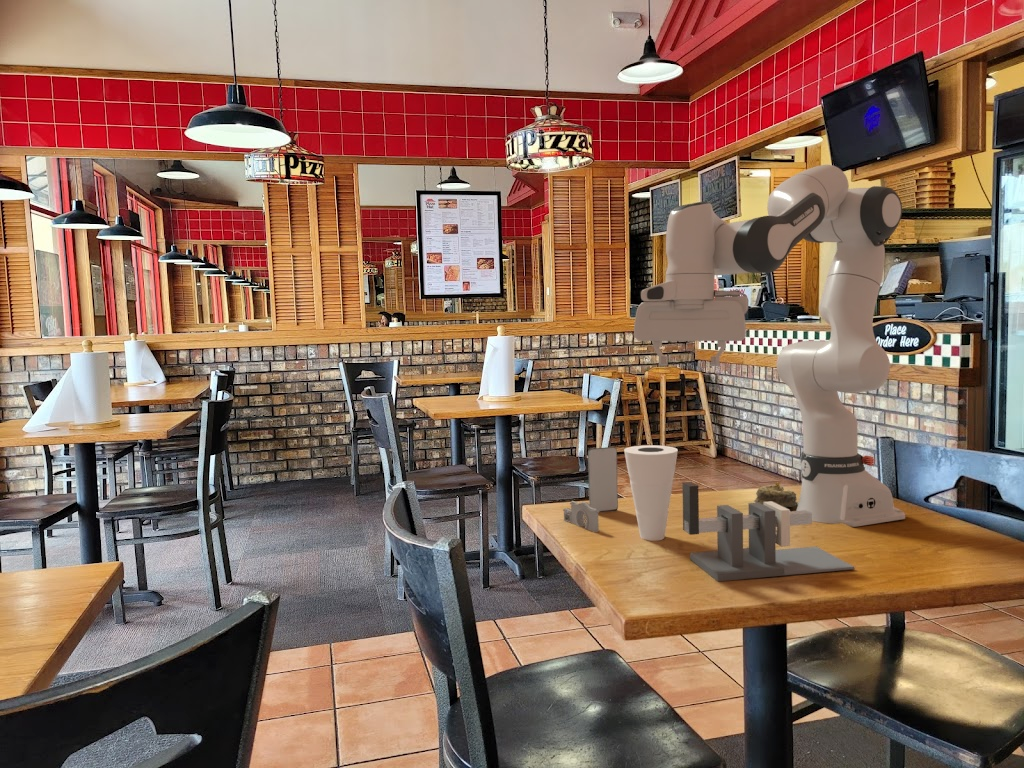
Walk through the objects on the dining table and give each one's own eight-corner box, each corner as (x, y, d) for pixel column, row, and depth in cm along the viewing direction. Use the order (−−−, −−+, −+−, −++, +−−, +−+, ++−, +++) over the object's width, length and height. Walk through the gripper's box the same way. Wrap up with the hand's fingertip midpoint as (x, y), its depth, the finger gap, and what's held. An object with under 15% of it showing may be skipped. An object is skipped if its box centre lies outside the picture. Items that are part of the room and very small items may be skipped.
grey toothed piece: (562, 522, 167) (562, 496, 166) (569, 520, 167) (568, 494, 167) (594, 534, 156) (593, 506, 156) (601, 533, 157) (600, 505, 156)
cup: (626, 529, 159) (624, 445, 157) (677, 530, 157) (676, 445, 155) (625, 544, 148) (623, 454, 147) (680, 545, 146) (679, 454, 145)
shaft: (804, 520, 136) (803, 474, 135) (813, 524, 133) (813, 477, 132) (683, 529, 133) (682, 482, 132) (690, 534, 129) (689, 486, 129)
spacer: (771, 535, 137) (771, 501, 136) (790, 545, 131) (789, 509, 130) (763, 536, 137) (763, 501, 136) (781, 546, 130) (781, 510, 130)
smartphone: (590, 513, 172) (588, 449, 171) (589, 513, 173) (587, 448, 172) (618, 510, 174) (616, 446, 173) (617, 510, 175) (615, 446, 173)
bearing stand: (751, 554, 140) (751, 498, 139) (784, 575, 128) (784, 515, 127) (690, 559, 138) (689, 503, 137) (717, 581, 126) (717, 520, 125)
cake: (769, 511, 170) (769, 488, 169) (745, 501, 179) (745, 479, 179) (808, 507, 172) (808, 484, 172) (782, 497, 182) (782, 476, 181)
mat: (816, 548, 142) (816, 546, 142) (854, 569, 130) (854, 566, 130) (751, 554, 140) (751, 551, 140) (784, 575, 128) (784, 573, 128)
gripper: (749, 290, 138) (747, 365, 139) (638, 293, 145) (637, 364, 146) (748, 288, 132) (746, 367, 133) (632, 291, 139) (632, 365, 140)
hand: (688, 365), depth 140 cm, fingers open, 8 cm apart
